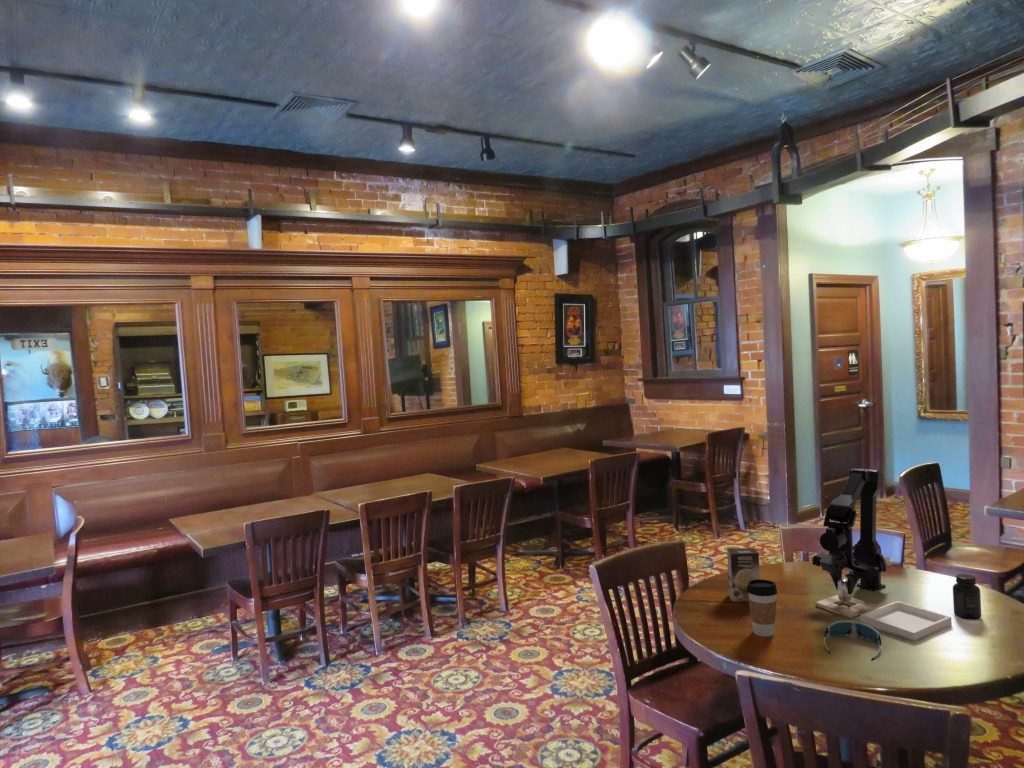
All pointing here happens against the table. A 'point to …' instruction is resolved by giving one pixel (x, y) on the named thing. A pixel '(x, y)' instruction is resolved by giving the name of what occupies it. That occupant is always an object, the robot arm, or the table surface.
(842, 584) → the steel pin
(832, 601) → the socket block
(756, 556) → the coffee box
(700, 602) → the table surface
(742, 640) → the table surface
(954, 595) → the supplement bottle
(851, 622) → the sunglasses
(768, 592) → the coffee cup
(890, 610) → the tray
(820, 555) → the robot arm
